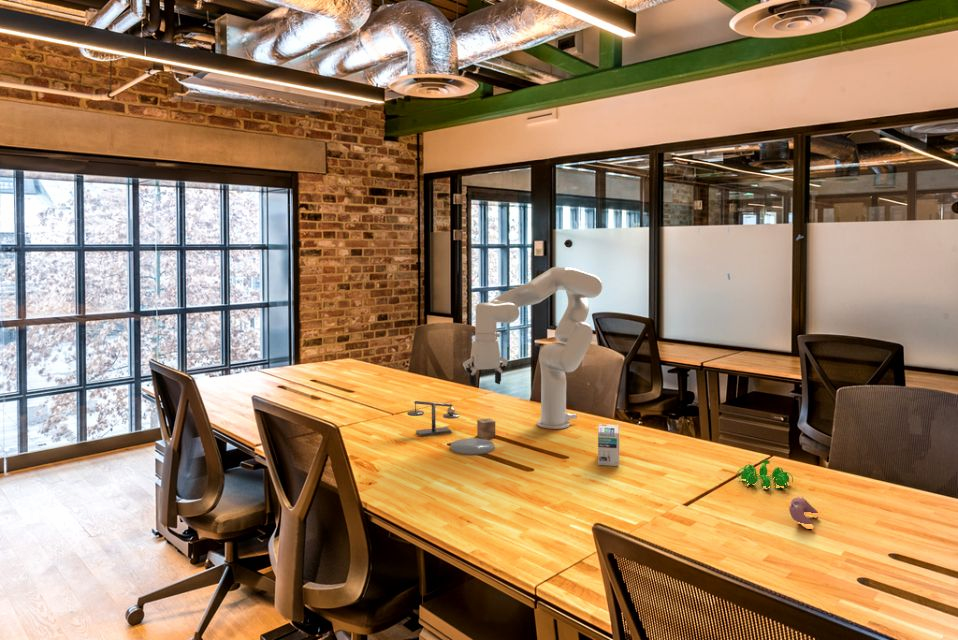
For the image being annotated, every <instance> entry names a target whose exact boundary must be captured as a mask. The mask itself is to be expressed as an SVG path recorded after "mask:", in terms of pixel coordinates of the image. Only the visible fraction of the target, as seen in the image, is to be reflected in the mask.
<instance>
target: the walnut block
mask: <svg viewBox="0 0 958 640" xmlns="http://www.w3.org/2000/svg"><path fill="white" fill-rule="evenodd" d="M476 421H477V422H476V427H477V428H476V430H477V431H476V433H477V434H476V435H477V437H479V439H485V440H487V439H486V438H489V439H495V438H496V421H495V420H493V419H492V418H489V417H488V418H479V419H477V420H476ZM494 437H495V438H494Z"/></svg>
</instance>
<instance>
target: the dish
mask: <svg viewBox="0 0 958 640" xmlns="http://www.w3.org/2000/svg"><path fill="white" fill-rule="evenodd" d="M494 450H495V443H494V442H493V441H491V440H490V439H489V440H488V439H482V438H474V437H473V438H463V439H462V438H461V439H457V440H453V441H452V442H451V443H450V451H452V452H454V453H456V454H460V455H467V456H474V455H475V456H477V455H484V454H488V453H491V452H493V451H494Z"/></svg>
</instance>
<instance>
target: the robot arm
mask: <svg viewBox="0 0 958 640" xmlns="http://www.w3.org/2000/svg"><path fill="white" fill-rule="evenodd" d="M561 290H563V291H565V292H566V293H565V294H566V297H567V306H566V309H565V310H564V313H563V315H562V317H561V319H560V320H559V322H558V324H557V327H556V328H555V330H554V338H555V339H556V340H557V342H558V343H553V342H552V343H547V344H544V345H543V346H542V347H541V348H540V351H539V354H538V360H539V366H540V376H541V381H540V382H541V385H540V394H541V395H540V399H541V400H540V419H538V420H537V422H536V425H537V426H538V427H540V428H543V429H549V430H562V429H566V428H568V427H570V426H571V424H570V420H575V419H577V418H578V415H577V413H570V412H567V375H566V373H573V372H574V371H576V370H577V368H579V366H580V364H581V363H582V362H583V359H584V357H585V356H586V353H587V352H588V349H589V347H590V345H591V343H592V341H593V336H594V335H593V334H594V333H593V329H592V327H591V325H590V324H588V323H587V322H586V320H587V317H588V316H589V315H588V314H589V311H590V307H589V301H588V298H589V299H593V298H596V297H598V296H599V295H600V294H601V292H602V290H603V282H602V281H601V279H600V278H599V277H598V276H596V275H595V274H591V273H587V272H586V271H585V272H584V271H582V270H579V269H577V268H572V267H566V266H564V267H563V266H553V267H551V268H549V269H548V270H546V271H544V272H543V273H541V274H539V275H538V276H536V277H535V278H533V279H532V280H530V281H529V282H527V283H525V284H521V285H519V286H517V287H515V288H512V289H510V290H508V291H505V292H503V293H502V294H500V295H498V296H497V297H495V298H494V299H492V300H490V301H489V302H479V303H477V304H476V306H475V336H474V337H475V338H474V339H475V340H473V341H472V344H471V350H470V358H468V359H467V360H465V361H462V365H463V368H464V370H465V371H466V372H467V374H468V375H469V384H470V386H471V387H472V386H473V387H476V382H477V381H476V377H477V376H476V373H477V371H478V370H493V369H494V370H495V372H494V383H495V384H497V385H500V384H501V381H502V374H503V372H504V370H505V369H506V367H507V365H508V363H509V360H508V359H506V358H504V357H502V356H501V354H500V353H501V352H500V344H499V341H498V340H497V339H498V338H500V337H501V336H500V333H498V332H497V323H502V324H503V323H504V324H511V323H514V322H516V320H518V319H519V316H520V310H519V308H522V307H525V306H527V307H528V306H533V305H536V304H540V303H541V302H542V301H544V300H546V299H547V298H549V297H550V296H551V295H553V294H555V293H556V292H558V291H561ZM559 343H561V344H559ZM501 363H502V364H501ZM469 365H470V367H471V368H470V367H469Z"/></svg>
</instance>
